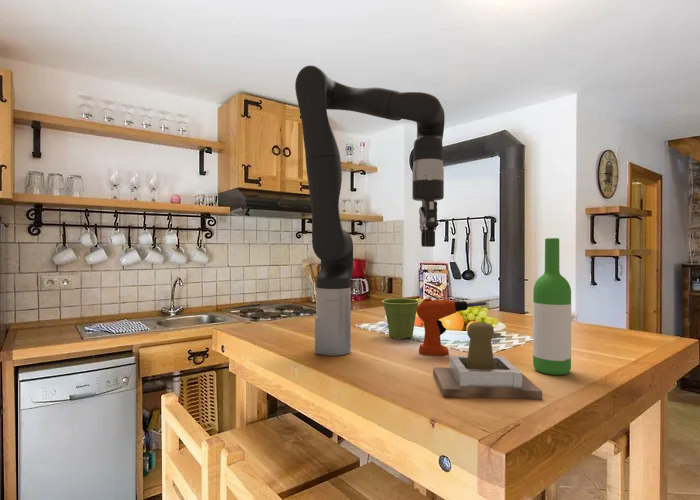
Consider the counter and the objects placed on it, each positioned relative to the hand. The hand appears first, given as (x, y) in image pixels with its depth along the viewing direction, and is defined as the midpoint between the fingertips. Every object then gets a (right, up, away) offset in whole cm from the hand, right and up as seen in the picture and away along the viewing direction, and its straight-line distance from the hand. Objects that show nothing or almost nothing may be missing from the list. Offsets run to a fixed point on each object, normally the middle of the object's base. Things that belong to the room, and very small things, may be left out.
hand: (427, 246), depth 101 cm
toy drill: (+8, -28, +8) cm, 30 cm away
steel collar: (+8, -27, -17) cm, 33 cm away
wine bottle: (+27, -28, -8) cm, 40 cm away
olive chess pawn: (+8, -27, -17) cm, 33 cm away
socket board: (+8, -28, -17) cm, 34 cm away
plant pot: (-3, -28, +28) cm, 40 cm away
